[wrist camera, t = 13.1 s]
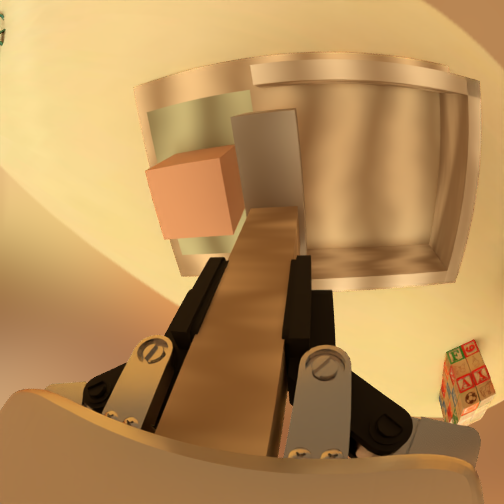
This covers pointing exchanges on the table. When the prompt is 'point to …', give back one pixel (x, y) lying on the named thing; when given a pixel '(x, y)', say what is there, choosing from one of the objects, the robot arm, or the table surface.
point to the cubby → (342, 157)
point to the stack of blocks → (465, 385)
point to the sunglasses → (2, 30)
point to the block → (197, 193)
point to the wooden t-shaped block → (247, 303)
